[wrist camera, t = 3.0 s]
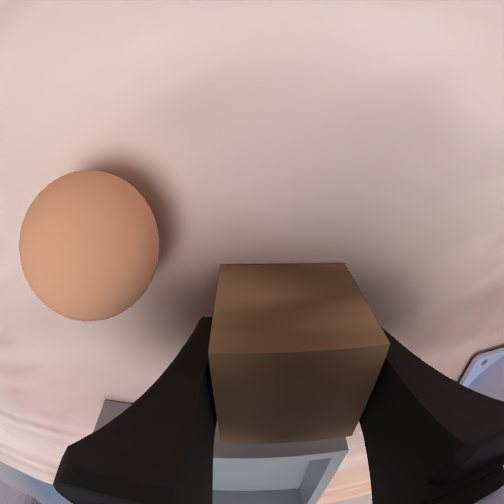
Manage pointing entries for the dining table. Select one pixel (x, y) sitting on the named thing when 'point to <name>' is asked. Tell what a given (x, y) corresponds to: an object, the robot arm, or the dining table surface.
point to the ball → (89, 245)
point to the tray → (264, 467)
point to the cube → (291, 352)
